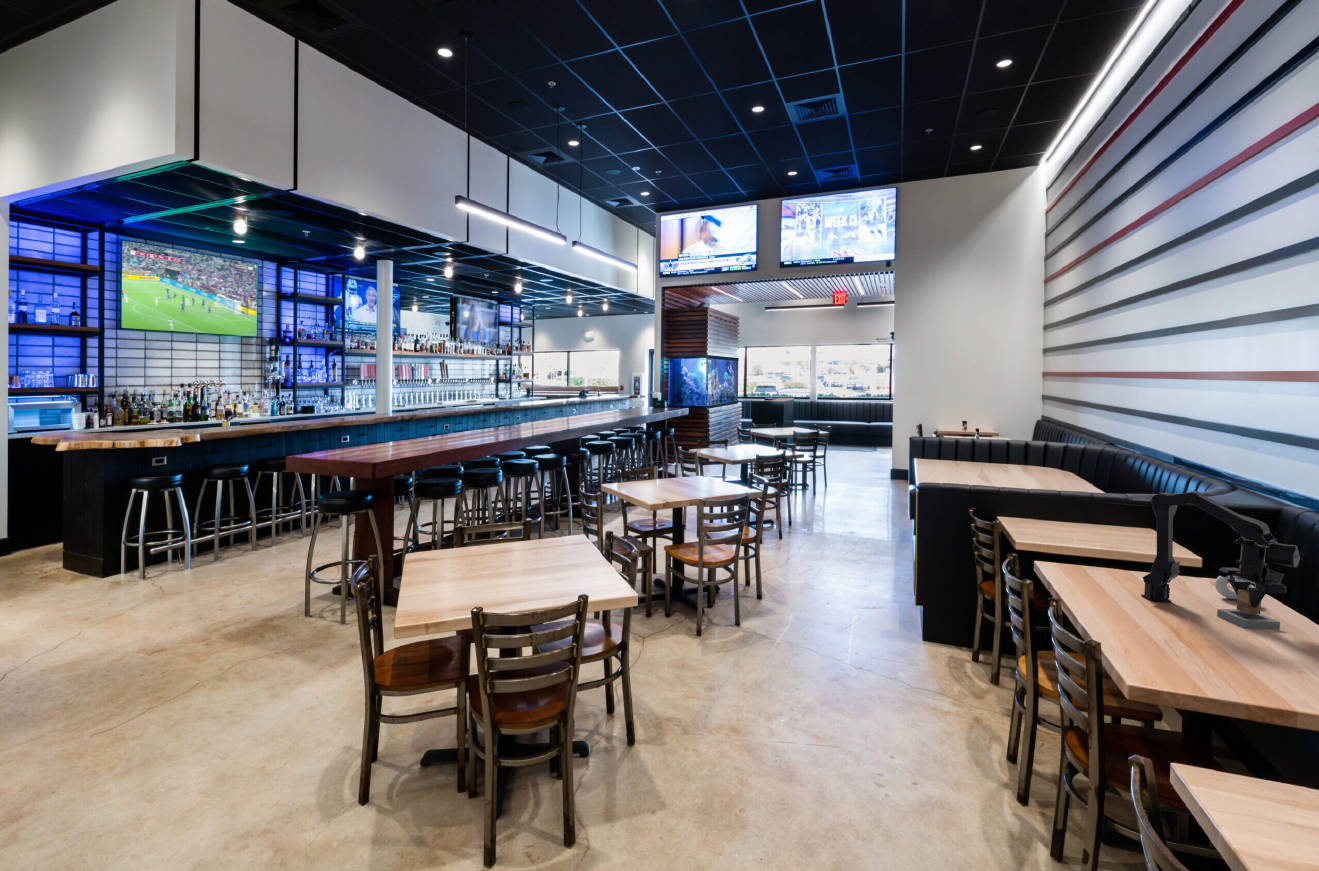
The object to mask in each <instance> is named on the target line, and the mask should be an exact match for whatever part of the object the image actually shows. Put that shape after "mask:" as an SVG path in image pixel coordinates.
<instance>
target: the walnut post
mask: <svg viewBox="0 0 1319 871" xmlns="http://www.w3.org/2000/svg"><path fill="white" fill-rule="evenodd" d="M1261 607H1262V601H1261V602H1260V603H1259V605H1258V606H1257V608H1253V607H1252V605H1251V600H1250V595H1249V590H1248V589H1238V597H1237V600H1236V609H1237V610H1239V611H1242V612H1244V613H1247V614H1261V609H1262V608H1261Z"/></svg>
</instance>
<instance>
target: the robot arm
mask: <svg viewBox="0 0 1319 871" xmlns="http://www.w3.org/2000/svg"><path fill="white" fill-rule="evenodd" d="M1150 500H1151V501H1150V502H1151V507H1152V511H1153V513H1154V515H1155V517H1156V556H1155V558H1154V560H1153V563H1152V566H1151V569H1150V570H1151V571H1150V573H1147V574H1146V575H1144V576H1142V579H1143V580H1142V581H1143V583H1144V594H1140V596H1141V597H1142V598H1145V599H1147V600H1148V601H1151V602H1154V603H1155V602H1156V603H1157V602H1158V603H1172V600H1171V599H1170V596H1171V594H1170V592H1171V591H1170V590H1171V588H1170V583H1171V581H1173V580H1174V579H1176V578H1177V577H1178V576H1179V574H1181V571H1180V565H1181V563H1180V561H1175V559H1174V553H1173V550H1174V546H1173V544H1174V543H1173V541H1174V539H1173V538H1174V536H1173V535H1174V531H1173V530H1174V528H1173V527H1174V521H1173V520H1174V517H1175V515H1176V512H1177V511H1178V510H1177V509H1178V507H1179V506H1180V505H1185V504H1191V505H1193V506H1195V507H1196V508H1198V509H1201V510H1202V511H1204V512H1206V513H1208V514H1209V515H1211V516H1213V517H1215V518H1216V519H1219V520H1220V521H1222V522H1224V523H1226V524H1227V525H1228V526H1230V527H1231V528H1232V529H1233V530H1234V531H1235V532H1236V533H1238V535H1240V537H1238V538H1237V539H1236V540H1233V541H1232V543H1233V544H1238V545H1241V548H1240V558H1239V559H1236V562H1235V563H1236V564H1239V568H1238V567H1220V568H1219V569H1218V571H1217V572H1218V573H1217V575H1218V577H1219V576H1222V577H1228V576H1230V579H1227V581H1229V583H1228V584H1229V585H1231V587H1232V590H1234V591H1235V593H1236V595H1237V597H1238V589H1248V590H1249V595H1250V600H1251V605H1252V607H1253V608H1257V606H1258V605H1259V603H1260V602H1261V603H1262V600H1263V599H1264V597H1265V596H1266V595H1267V594H1283V595H1284V594H1286V593H1287V587H1286V586H1285V584H1284V583H1283V584H1282V583H1281V582H1282V580H1283V579H1284V576H1285V574H1284V573H1280V572H1278V571H1275V570H1272V569H1270V566H1269V564H1268V563H1265V561H1269V562H1270V563H1271V564H1276V565H1281V566H1286V567H1291V568H1297V567H1299V566H1298V565H1299V563H1300V560H1301V555H1300V552H1299V549H1298V548H1299V546H1298V545H1295V544H1294V545H1293V544H1285V543H1278V540H1277V539H1276V538H1275V536H1274V535H1273V534H1272V533H1271V532H1270V531H1271V530H1270V527H1269V525H1268V524H1267V523H1266V522H1263V521H1261V520H1258V519H1256V518H1253V517H1250V516H1246V515H1242V514H1239V513H1237V512H1235V511H1233V510H1232V509H1230V508H1228V507H1226V506H1224V505H1223V504H1221V503H1219V502H1217V501H1215V500H1213V499H1211V498H1209V497H1207V496H1205V494H1204V495H1203V494H1202V493H1201V492H1199V491H1189V492H1183V493H1172V492H1163V493H1162V492H1161V493H1157V494H1155V495H1153V496H1152V497H1151V499H1150ZM1252 584H1253V585H1254V586H1253V587H1249V586H1250V585H1251V586H1252Z"/></svg>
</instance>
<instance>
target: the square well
mask: <svg viewBox="0 0 1319 871" xmlns="http://www.w3.org/2000/svg"><path fill="white" fill-rule="evenodd" d="M1216 616H1217V617H1219V618H1221V619H1223V620H1225V621H1227V622H1230V623H1232V624H1234V625H1237V627H1238V626H1239V627H1240V628H1242V629H1245V630H1246V629H1249V630H1250V629H1252V630H1253V629H1254V630H1281V621H1278V620H1277V619H1274V618H1272V617H1269V616H1267V615H1265V614H1262V613H1260V614H1247V613H1244V612H1242V611H1239V610H1237V608H1235V609H1234V608H1233V609H1232V608H1230V609H1228V608H1217V613H1216Z"/></svg>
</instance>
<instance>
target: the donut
mask: <svg viewBox="0 0 1319 871" xmlns="http://www.w3.org/2000/svg"><path fill="white" fill-rule="evenodd" d="M1227 579H1230V576H1228V577H1222V576H1219V575H1218V576H1217V578H1216V579H1215V582H1214V586H1215V590H1216V591H1217V592H1218V593H1219V594H1220V595H1221V596H1222V597H1223V598H1226V599H1229V600H1236V601H1237V595H1236V593H1235V591H1234V589H1230V588H1229V587H1228V585H1229V584H1230V583H1229V581H1227ZM1249 587H1252V584H1251V585H1250V586H1249ZM1252 588H1253V587H1252Z"/></svg>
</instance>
